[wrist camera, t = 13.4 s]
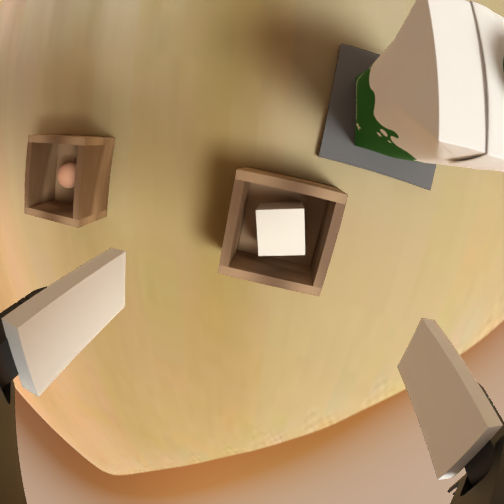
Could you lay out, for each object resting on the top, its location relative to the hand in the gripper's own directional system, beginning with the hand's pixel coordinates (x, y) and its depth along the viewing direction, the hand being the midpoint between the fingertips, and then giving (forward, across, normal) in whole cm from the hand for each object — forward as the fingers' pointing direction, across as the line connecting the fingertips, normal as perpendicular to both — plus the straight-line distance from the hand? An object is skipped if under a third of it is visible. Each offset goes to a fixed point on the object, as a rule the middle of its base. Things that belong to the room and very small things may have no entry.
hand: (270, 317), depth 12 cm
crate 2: (+19, 0, 0) cm, 19 cm away
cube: (+18, 0, 0) cm, 18 cm away
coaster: (+19, +8, +13) cm, 24 cm away
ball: (+18, -24, +1) cm, 30 cm away
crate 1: (+19, -24, +1) cm, 30 cm away
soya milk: (+18, +8, +13) cm, 24 cm away
